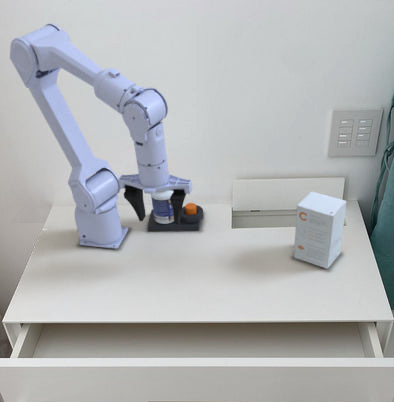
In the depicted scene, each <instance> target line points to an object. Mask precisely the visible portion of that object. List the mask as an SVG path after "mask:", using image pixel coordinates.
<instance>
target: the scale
mask: <svg viewBox="0 0 394 402" xmlns="http://www.w3.org/2000/svg"><path fill="white" fill-rule="evenodd" d="M196 208H197V213H196V214H194V215H187V214H186V211H185V205H183V206H182V211H181V220H180V222H179V224H178V225H177V224H175V223H174V221H173V222H172V223H169V224H161V223H158V222H156V221H155V218H154V212H153V208H152V209H151V211H150V214H149V218H148V222H147V231H148V232H177V231H178V232H179V231H180V232H181V231H182V232H183V231H185V232H186V231H187V232H188V231H193V232H194V231H200V229H201V221H202V220H203V219H204V209H203V207H201V205H198V204H196Z"/></svg>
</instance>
